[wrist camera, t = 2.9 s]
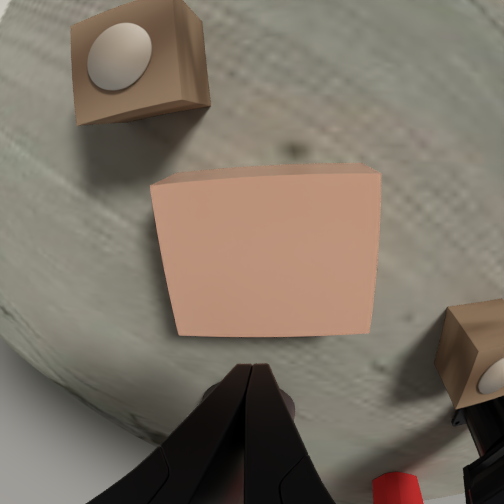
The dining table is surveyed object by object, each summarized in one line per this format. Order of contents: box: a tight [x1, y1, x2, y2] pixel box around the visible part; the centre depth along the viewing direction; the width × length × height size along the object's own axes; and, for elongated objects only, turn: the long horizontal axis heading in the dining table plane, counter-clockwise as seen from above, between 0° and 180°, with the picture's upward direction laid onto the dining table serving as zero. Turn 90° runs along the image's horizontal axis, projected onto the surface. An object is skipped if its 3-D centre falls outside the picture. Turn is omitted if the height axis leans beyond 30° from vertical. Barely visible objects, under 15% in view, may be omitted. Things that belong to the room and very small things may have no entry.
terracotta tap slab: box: [150, 163, 381, 337], centre depth 16 cm, size 8×10×4 cm
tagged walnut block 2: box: [434, 299, 504, 409], centre depth 17 cm, size 5×5×5 cm
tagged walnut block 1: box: [71, 0, 211, 126], centre depth 13 cm, size 5×5×5 cm
